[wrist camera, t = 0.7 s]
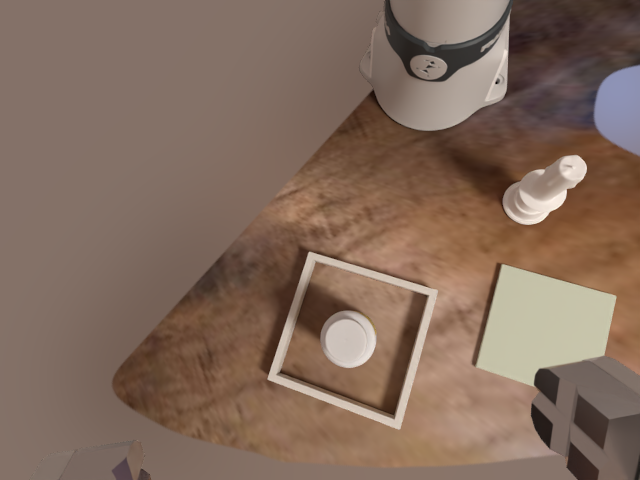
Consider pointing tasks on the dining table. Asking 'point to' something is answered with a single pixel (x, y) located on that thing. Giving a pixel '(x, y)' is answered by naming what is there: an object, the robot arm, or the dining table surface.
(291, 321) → the white square frame
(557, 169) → the candle
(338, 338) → the supplement bottle
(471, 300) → the dining table surface
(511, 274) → the mat
